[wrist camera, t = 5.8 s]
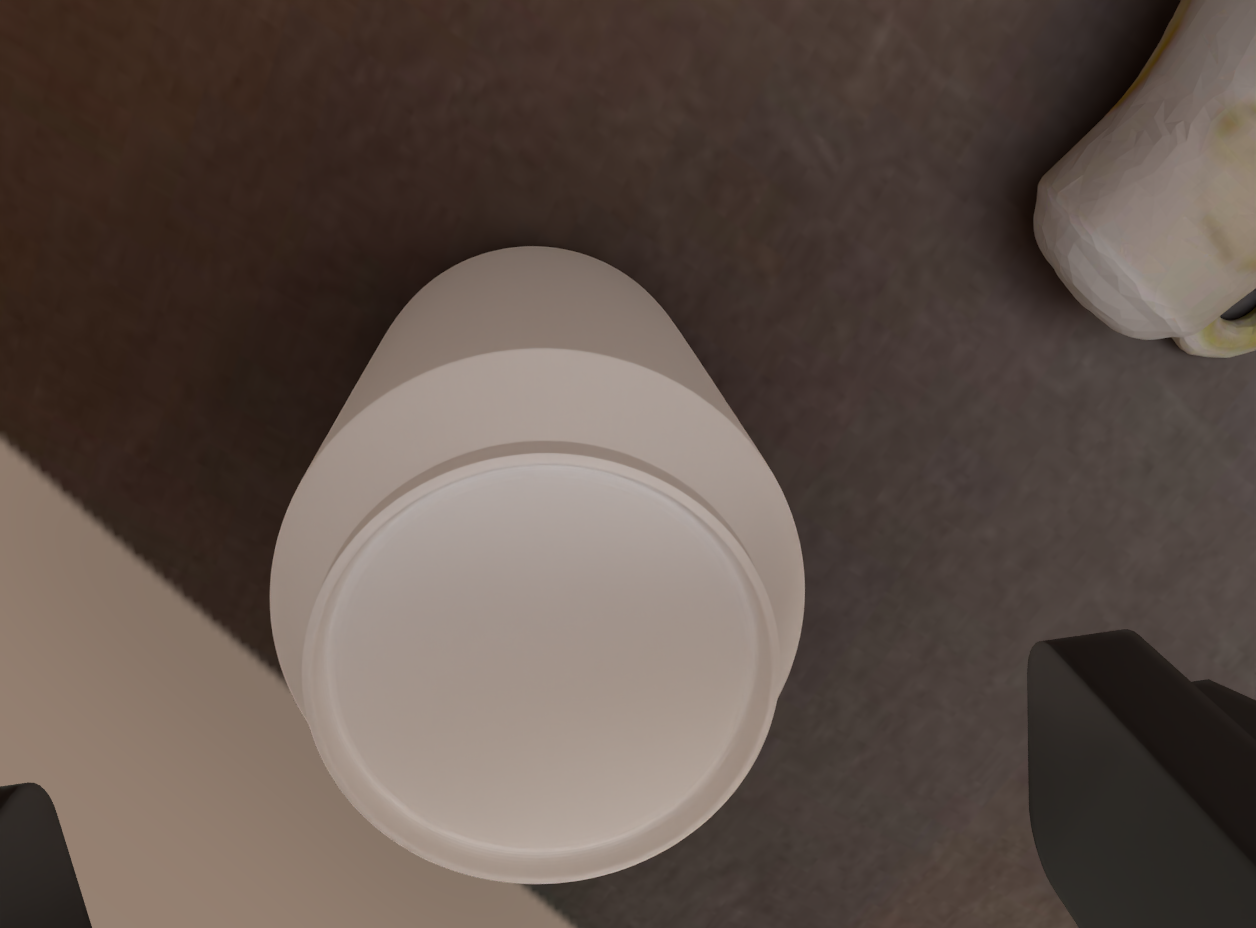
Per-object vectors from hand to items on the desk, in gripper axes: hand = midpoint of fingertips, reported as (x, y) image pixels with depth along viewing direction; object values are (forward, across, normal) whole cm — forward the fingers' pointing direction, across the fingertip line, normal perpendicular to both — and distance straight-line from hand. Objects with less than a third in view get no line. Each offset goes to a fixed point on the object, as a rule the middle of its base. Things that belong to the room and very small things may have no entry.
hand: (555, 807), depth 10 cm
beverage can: (+15, 0, 0) cm, 15 cm away
